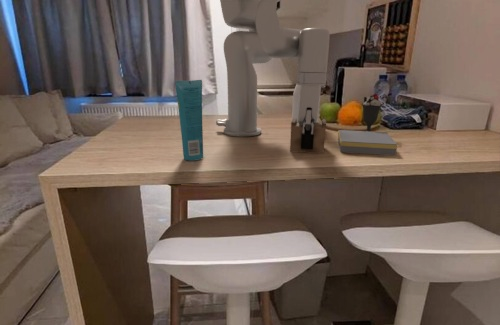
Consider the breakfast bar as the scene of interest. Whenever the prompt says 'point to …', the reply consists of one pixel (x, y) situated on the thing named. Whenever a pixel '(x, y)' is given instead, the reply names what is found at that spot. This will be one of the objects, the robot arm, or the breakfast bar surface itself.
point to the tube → (190, 118)
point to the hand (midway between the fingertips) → (307, 144)
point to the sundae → (371, 110)
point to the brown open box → (317, 142)
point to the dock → (366, 142)
